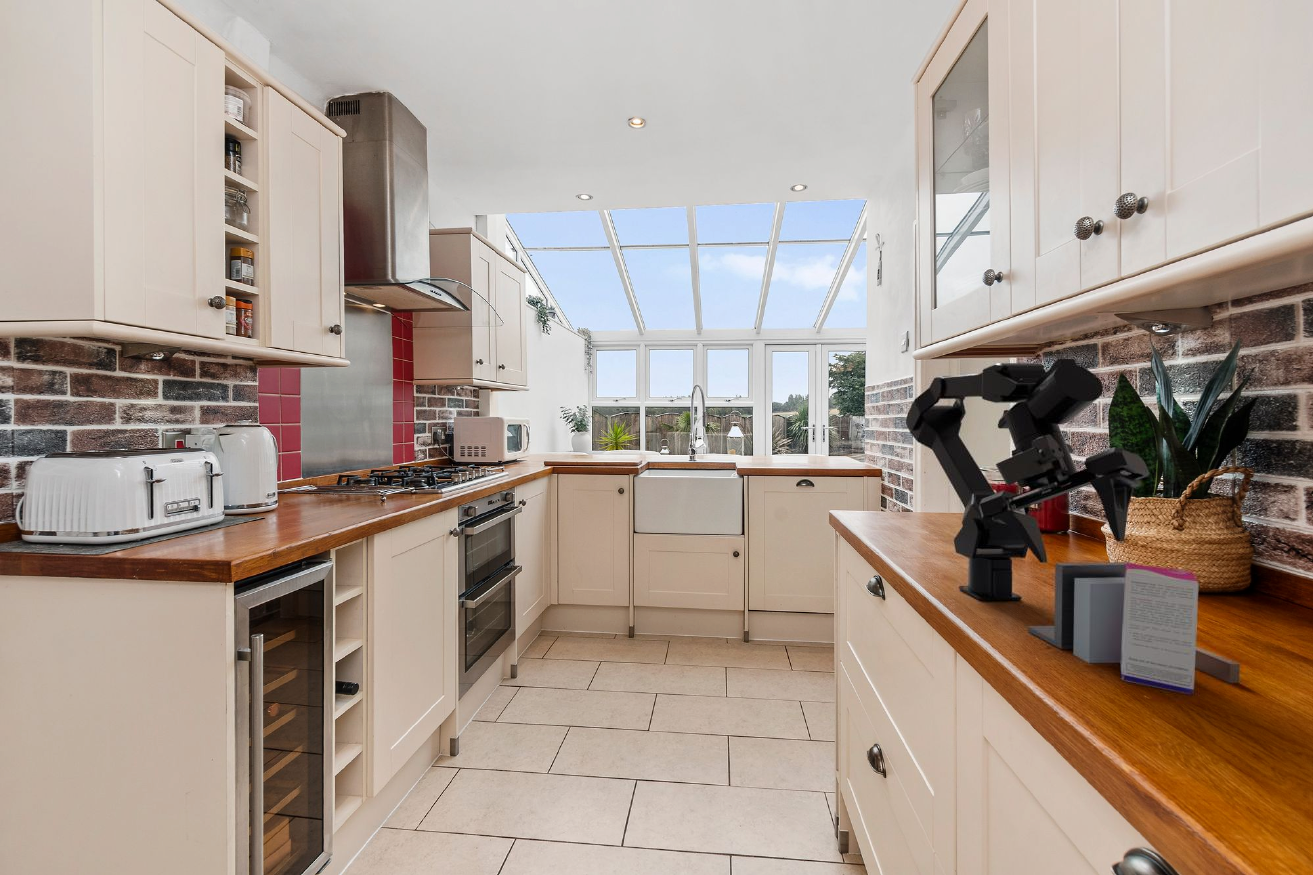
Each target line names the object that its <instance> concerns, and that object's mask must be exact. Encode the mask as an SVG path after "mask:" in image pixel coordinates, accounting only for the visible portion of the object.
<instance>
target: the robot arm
mask: <svg viewBox="0 0 1313 875" xmlns="http://www.w3.org/2000/svg"><path fill="white" fill-rule="evenodd" d="M1102 394H1103V384H1102V380H1101V378H1099V377H1097V376H1096V375H1095V373H1093V372H1092V371H1090V370H1089V369H1087V368H1086V367H1083V366H1081V365H1078V364H1077V362H1076V360H1075V358H1057V360H1055V361H1054V362H1053V364H1052V365H1051V367H1050V368H1049V369H1047V371H1046V369H1045V366H1044V365H1043V364H1042V363H1039V362H998V363H997V362H996V363H994V364H991V365H989V366H987V367H984V368H983V369H982V372H980V373H971V374H961V375H959V374H958V375H940V376H937V377H934V378H933V380H931V383H930V386H929V387H928V388H927V389H925V390H924V391H923V392H922V393H921V394H920V395H918V396H917V397H915V398H914V399H913V402H912V404H911V406H910V408H909V410H908V413H907V415H906V418H905V424H906V428H907V430H908V431H909V433H910V435H912V437H913V439H915V440H916V442H918V443H919V444H921V445H923V446H924V447H926V448H929V449H930V450H931V451H933V454H934V456H935V458H936V459H937V460H938V463H939V464H940V466H941V468H942V469H943V472H944V473H945V475H946V477H947V478H948V480H949V482H950V484H951V486H952V487H953V489H954V491H955V493H956V494H957V497H958V498H959V500H960V502H961V503H962V505H963V507H964V513H963V516H962V520H961V525H962V527H961V529H959V531H958V533H957V534H956V536H955V537H954V538H953V543H954V544H953V546H954V549H955V553H956V554H958V555H961V556H964V557H966V558H968V579H967V580H968V581H967V582H968V585H959V586H958V589H959V590H960V591H962V592H964V593H966V594H968V595H970V596H972V597H973V598H975V599H977V600H980V601H1021V600H1022V599H1023V598H1022V595H1020V594H1018V593H1015V592H1013V576H1014V574H1013V572H1014V571H1013V559H1014V558H1015V559H1017V558H1018V559H1026V557H1027V553H1028V549H1029V550H1030V551H1031V553H1032V554H1033V556H1034V557H1035V558H1036V559H1037V560H1038V561H1039V563H1040V564H1046V563H1048V559H1047V558H1048V557H1047V556H1048V555H1047V551H1046V548H1045V545H1044V540H1043V538H1042V534H1041V531H1040V530H1041V529H1040V527H1039V526H1040V525H1039V524H1038V520H1037V518H1036V516H1032V515H1030V514H1031V512H1032V508H1031V506H1034V505H1037V504H1039V503H1042V502H1045V501H1048V500H1051V499H1054V498H1056V497H1059V496H1062V495H1064V494H1068V493H1071V492H1073V491H1076V490H1079V489H1082V488H1083V487H1087V486H1090V485H1091V486H1092V487H1093V489H1094V491H1095V492H1096V494H1097V495H1098V497H1099V500H1100V502H1101V505H1102V507H1103V511H1104V514H1105V517H1106V520H1107V523H1108V526H1109V528H1110V531H1111V533H1112V534H1113V537H1114V539H1115V540H1116V542H1119V543H1123V542H1124V541H1125V540H1126V539H1125V538H1126V529H1127V520H1128V513H1129V507H1130V503H1131V499H1132V495H1133V492H1134V489H1135V488H1137V487H1138V488H1139V487H1140V486H1141V482H1140V480H1141V479H1143V478H1147V477H1149V475H1150V474H1151V473H1150V470H1149V468H1148V466H1147V463H1146V462H1145V461H1144V459H1143V458H1142V457H1141V456H1140V455H1137V454H1134V453H1133V452H1130V451H1127V450H1124V449H1122V448H1119V447H1116V446H1114V447H1111V448H1109V449H1106V450H1103V451H1101V452H1099V453H1097V454H1093V455H1090V456H1089V457H1086V458H1085V461H1084V465H1085V467H1086V468H1085V469H1082V470H1079V471H1078V470H1077V467H1076V465H1075V463H1074V460H1073V458H1072V456H1071V454H1072V453H1074V449H1073V447H1072V445H1071V444H1068V443H1067V442H1066V439H1065V438H1064V435H1063V433H1062V431H1061V428H1060V426H1059V425H1063V424H1067V423H1069V422H1071V421H1072V420H1073V419H1074V418H1076V417H1077V416H1078V415H1079V414H1081V413H1082V412H1083V411H1084V410H1086V409H1087V408H1088V407H1090V406H1091V405H1092V404H1093V403H1094V402H1096V401H1097V400H1098V399H1099V398H1100V397H1101V396H1102ZM975 397H976V398H977V397H978V398H979V397H981V399H982V400H984V401H988V402H990V403H995V404H1010V403H1011V404H1014V405H1012V406H1011V407H1010V409H1004V411H1003V412H1002V413H1003V414H1002V416H1001V418H1000V419H999V420H998V422H997V428H998V429H1002V430H1003V429H1005V430H1006V429H1007V430H1009V434H1010V437H1011V439H1012V443H1013V445H1014V447H1015V449H1013V450H1011V457H1009V458H1006V459H1004V460H1001V461H999V462H997V463H996V464H995V466H996V468H997V470H998V471H999V474H1000V475H1001V478H1002V479H1003V481H1004V482H1005V485H1006V487H1010V486H1012V485H1014V484H1016V483H1017V486H1018V487H1020V488H1027V487H1028V490H1026V491H1024V492H1020V493H1019V494H1017V493H1014V492H1009V491H1007V490H1002V491H999V492H995V490H994V489H993V487H992V486H991V484H990V482H989V480H987V477H986V476H985V474H984V473H983V472H982V470H981V468H980V467H979V465H978V464H977V462H976V461H975V459H974V457H973V456H972V454H971V453H970V451H969V449H968V448H967V446H966V445H965V443H964V442H963V440H962V439H961V437H960V432H961V428H962V421H963V419H964V417H965V416H966V413H967V412H966V407H965V404H964V400H965V398H975ZM948 399H949V400H955V401H954V403H952V404H953V405H946V404H945V405H943V404H942V405H937V404H938V403H939V402H940V400H948Z"/></svg>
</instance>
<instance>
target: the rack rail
mask: <svg viewBox="0 0 1313 875" xmlns="http://www.w3.org/2000/svg"><path fill="white" fill-rule="evenodd" d="M1240 667H1241V666H1240V663H1238V662H1235V661H1234V660H1230V659H1228V658H1226V657H1223V656H1221V655H1218V654H1216V653H1213V652H1211V651H1208V650H1206V649H1205V648H1204V649H1203V648H1201V647H1199V646H1197V645H1196V653H1195V669H1196V670H1200V671H1202V672H1204V673H1206V674H1208V675H1210V676H1212V677H1215V678H1217V679H1220V680H1222V681H1224V682H1226V683H1228V684H1240V672H1241V671H1240V669H1241V668H1240Z"/></svg>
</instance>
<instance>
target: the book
mask: <svg viewBox="0 0 1313 875" xmlns="http://www.w3.org/2000/svg"><path fill="white" fill-rule="evenodd" d="M1124 586H1125V578H1075V590H1074V649H1073V653H1072V655H1073V656H1075V657H1077V658H1078V659H1080V660H1082V661H1085V662H1086V663H1088V664H1104V663H1105V664H1106V663H1107V664H1109V663H1111V664H1113V663H1114V664H1115V663H1116V664H1117V663H1120V664H1121V643H1122V624H1123V607H1124Z"/></svg>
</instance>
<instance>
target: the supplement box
mask: <svg viewBox="0 0 1313 875" xmlns="http://www.w3.org/2000/svg"><path fill="white" fill-rule="evenodd" d="M1198 599H1199V582H1198V580H1197V578H1196V577H1195V575H1194V573H1193V572H1192V571H1189V570H1184V569H1182V570H1181V569H1174V568H1167V567H1166V568H1165V567H1157V566H1151V565H1142V564H1136V563H1133V564H1129V563H1127V564H1126V565H1125V586H1124V607H1123V624H1122V643H1121V663H1120V676H1121V680H1122V681H1124V682H1128V683H1134V684H1137V685H1138V684H1139V685H1144V686H1148V687H1153V688H1159V689H1163V690H1168V691H1171V692H1172V691H1173V692H1177V693H1182V694H1187V695H1193V694H1194V690H1195V675H1196V674H1195V671H1196V668H1195V653H1196V646H1197V631H1198V630H1197V627H1198V603H1199V600H1198Z"/></svg>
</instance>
